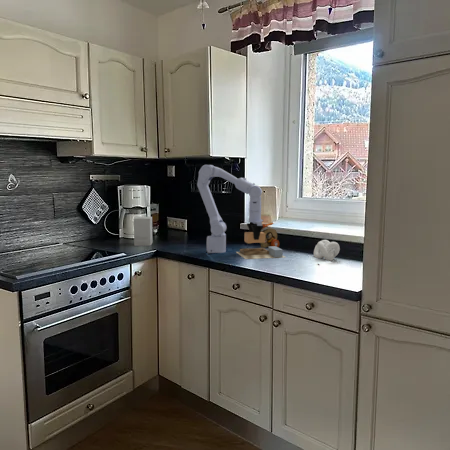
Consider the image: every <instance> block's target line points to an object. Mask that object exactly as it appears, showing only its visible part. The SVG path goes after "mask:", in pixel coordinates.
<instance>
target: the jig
mask: <svg viewBox="0 0 450 450" xmlns="http://www.w3.org/2000/svg"><path fill="white" fill-rule="evenodd" d="M235 253H236V254H238V255H239V256H241V257H242V258H244V259H245V260H257V259H279V258H280V259H281V258H283V259H285V258H287V256H285V255H283V257H273V256H271V255H270V254H269V251H268V249H266V248H261V247H256V248H239V251H235Z"/></svg>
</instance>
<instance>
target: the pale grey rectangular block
mask: <svg viewBox="0 0 450 450" xmlns="http://www.w3.org/2000/svg"><path fill="white" fill-rule="evenodd" d="M267 250H268V251H269V254H270V255H271V256H273V257H283V256H284V255H283V253H284V249H282V248H280V247H276V246H270V247H267Z"/></svg>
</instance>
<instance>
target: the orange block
mask: <svg viewBox="0 0 450 450" xmlns="http://www.w3.org/2000/svg"><path fill="white" fill-rule="evenodd" d="M243 236H244V243H246V244H248V243H251V244H254V243H255V244H256V243H257V244H258V243H259V244H260V243H265V233H263V232H262V231H261V232H260V236H259V240H254V235H253V232H249V231H248V232H247V231H244V235H243Z"/></svg>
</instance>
